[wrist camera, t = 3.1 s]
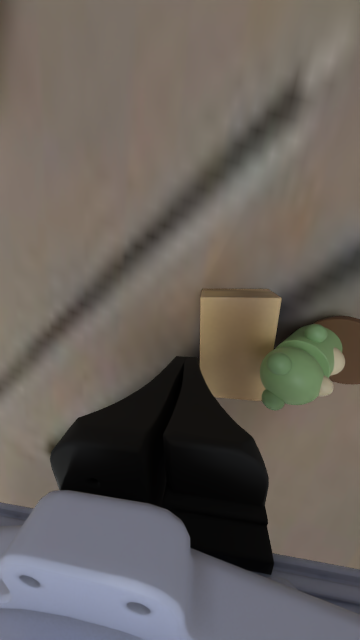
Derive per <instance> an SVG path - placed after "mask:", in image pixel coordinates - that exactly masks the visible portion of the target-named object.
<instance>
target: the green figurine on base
mask: <svg viewBox="0 0 360 640" xmlns="http://www.w3.org/2000/svg"><path fill="white" fill-rule="evenodd" d="M260 378H261V382H262V384H263V386H264V387H265V390H264V391H263V393H262V402H263V404H264V405H265V406H266V407H267V408H269V409H271V410H279V409H281V408H282V407H283V406H284V404H285V403H286V404H291V405H302V404H306V403H309V402H311V401H313V400H314V399H316V398H317V397H318V396H327V395H329V394H331V393H332V391H333V383H332V381H333V382H337V383H342V384H360V319H356V318H352V317H347V316H332V317H327V318H323V319H321V320H318V321H317V322H315V323H313V324H311V325H308V326H304V327H301V328H299V329H298V330H297V331H295V332H294V333H293V334H292V335H290V336H289V337H288V338H287V339H285V340H284V341H283V342H282V343H281V344H279V345H278V346H277V347H276V349H275V350H273V351H271V352H269V353H268V354H267V355H266V356H265V358H264V359H263V361H262V363H261V366H260Z"/></svg>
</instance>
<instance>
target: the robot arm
mask: <svg viewBox="0 0 360 640" xmlns="http://www.w3.org/2000/svg"><path fill="white" fill-rule="evenodd" d="M50 462H51V467H52V470H53V473H54V476H55V478H56V481H57V484H58V487H59V490H57V491H52V492H49V493H48V494H47V495H45V496H44V497H43V498H41V499H40V500H39V502H38V503H37V505H36V506H35V508H34V509H33V508H28V507H22V506H17V505H12V504H6V503H1V502H0V640H360V569H354V568H349V567H344V566H338V565H333V564H328V563H322V562H317V561H311V560H306V559H301V558H295V557H290V556H285V555H279V554H274V553H272V549H271V545H270V540H269V535H268V530H267V524H268V519H267V514H266V509H265V501H266V496H267V491H268V485H269V482H268V474H267V470H266V467H265V464H264V461H263V459H262V456H261V454H260V452H259V449H258V447H257V445H256V443H255V441H254V439H253V437H252V436H251V435H250V434H248V433H247V432H246V431H245V430H244V429H243V428H241V427H240V426H239V425H238V424H237V423H236V422H235V421H234V420H233V419H232V418H231V417H230V416H229V415H228V414H227V413H226V411H225V410H224V409H223V408H222V407H221V406H220V404H219V403H218V401H217V400H216V399H215V397H214V396H213V394H212V393H211V391H210V389H209V388H208V386H207V384H206V382H205V380H204V378H203V375H202V373H201V370H200V367H199V359H198V358H197V357H181V356H176V357H175V358H174V359H173V360H172V361H171V363H170V364H169V365H168V366H167V367H166V368H165V369H164V370H163V371H162V372H161V373H160V374H159V375H157V376H156V377H155V378H154V379H153V380H152V381H150V382H149V383H148V384H147V385H145V386H144V387H142V388H141V389H139V390H138V391H136V392H135V393H133V394H131V395H130V396H128V397H126V398H124V399H123V400H121V401H119V402H117V403H115V404H113V405H110V406H108V407H106V408H104V409H101V410H99V411H96V412H93V413H91V414H88V415H85V416H82V417H79V418H78V419H77V420H76V421H75V422H74V423H73V425H72V426H71V427H70V428H69V430H68V431H67V432H66V433H65V435H64V436H63V437H62V439H61V440H60V441H59V442H58V444H57V445H56V446H55V448H54V449H53V450H52V452H51V456H50Z"/></svg>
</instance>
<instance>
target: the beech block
mask: <svg viewBox="0 0 360 640" xmlns="http://www.w3.org/2000/svg"><path fill="white" fill-rule="evenodd" d="M281 299H282V298H281V297H279V296H278V295H276V294H275V293H273V292H272V291H270V290H269V289H202V293H201V304H200V370H201V373H202V375H203V378H204V380H205V382H206V384H207V386H208V388H209V389H210V391H211V393H212V394H213V396H214V397H217V398H229V399H242V400H254V401H262V393H263V391H264V390H265V387H264V386H263V384H262V382H261V378H260V366H261V363H262V361H263V359H264V358H265V356H266V355H267V354H268V353H269V352H271V351H273V350H274V344H275V338H276V331H277V325H278V318H279V312H280V305H281Z"/></svg>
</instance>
